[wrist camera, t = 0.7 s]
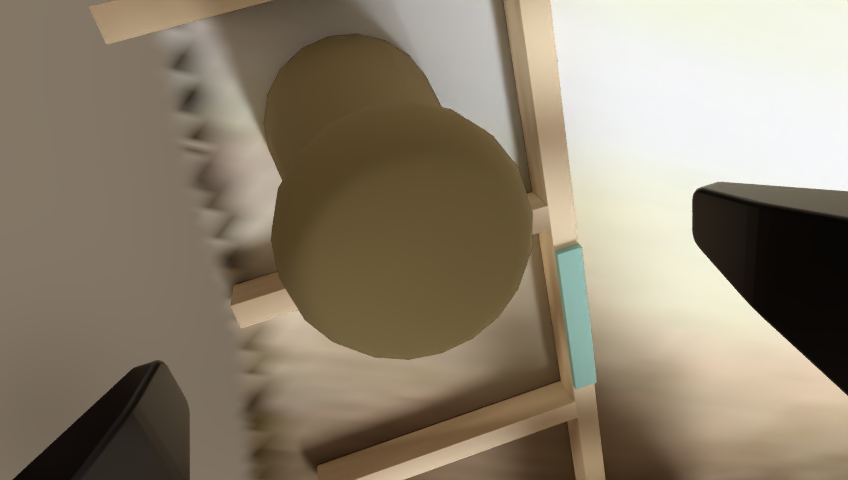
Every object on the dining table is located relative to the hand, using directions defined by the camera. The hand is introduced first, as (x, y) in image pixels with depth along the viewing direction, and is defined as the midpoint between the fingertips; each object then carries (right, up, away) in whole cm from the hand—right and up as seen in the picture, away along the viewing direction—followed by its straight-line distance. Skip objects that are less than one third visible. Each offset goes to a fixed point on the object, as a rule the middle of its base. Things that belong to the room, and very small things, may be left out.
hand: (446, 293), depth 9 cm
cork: (-3, +5, +11) cm, 12 cm away
